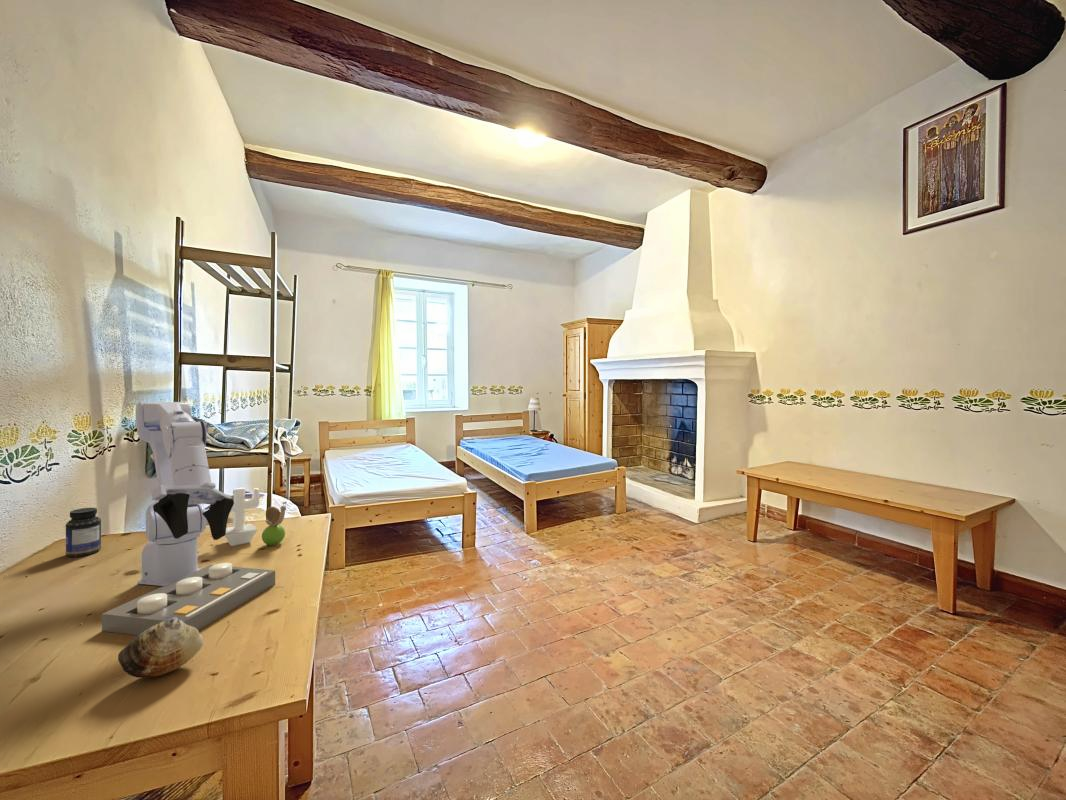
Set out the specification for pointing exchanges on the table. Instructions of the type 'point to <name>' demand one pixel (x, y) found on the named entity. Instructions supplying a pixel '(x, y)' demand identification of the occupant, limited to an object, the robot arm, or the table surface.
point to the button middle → (188, 586)
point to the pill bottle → (83, 533)
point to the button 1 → (151, 604)
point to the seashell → (160, 649)
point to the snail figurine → (274, 526)
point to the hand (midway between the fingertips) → (201, 536)
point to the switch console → (192, 601)
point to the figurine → (242, 517)
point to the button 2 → (220, 571)
